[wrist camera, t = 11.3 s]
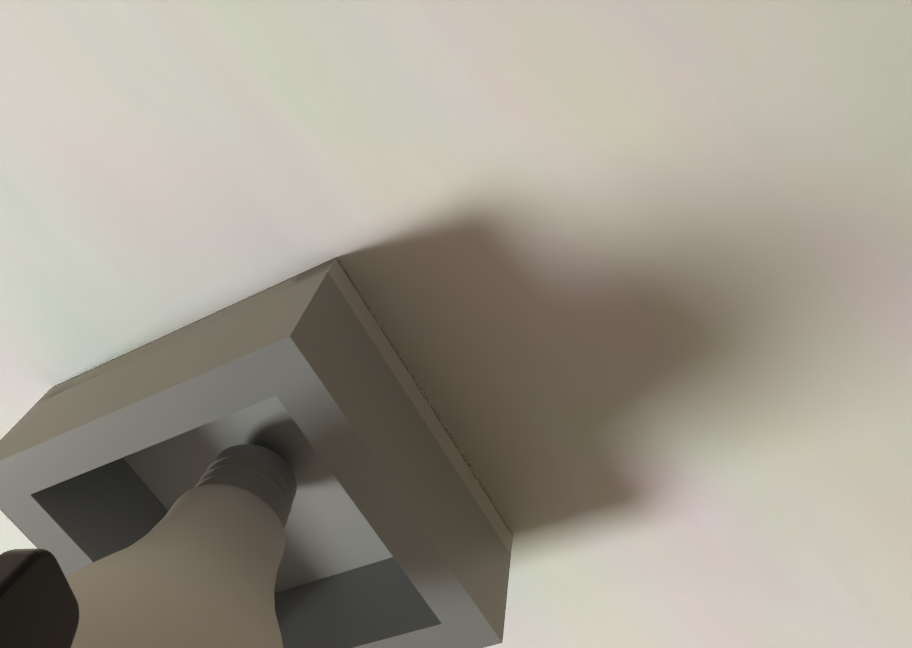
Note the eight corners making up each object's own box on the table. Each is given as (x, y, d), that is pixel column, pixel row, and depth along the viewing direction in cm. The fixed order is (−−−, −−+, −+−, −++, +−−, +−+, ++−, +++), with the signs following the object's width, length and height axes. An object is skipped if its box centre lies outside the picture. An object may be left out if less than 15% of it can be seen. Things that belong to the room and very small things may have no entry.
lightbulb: (127, 392, 24) (-172, 753, 14) (324, 358, 22) (137, 735, 13) (211, 548, 26) (7, 939, 17) (392, 527, 25) (279, 941, 16)
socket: (335, 257, 22) (289, 336, 18) (512, 535, 26) (502, 642, 22) (50, 388, 25) (-34, 475, 22) (246, 614, 29) (201, 717, 26)
